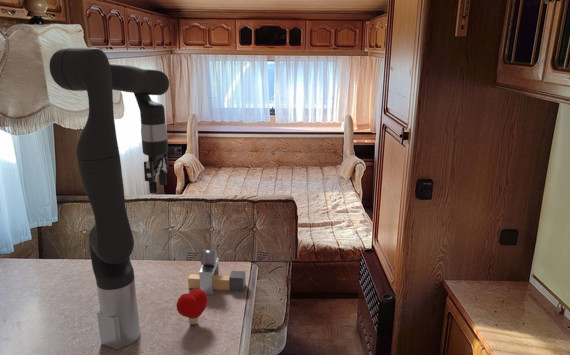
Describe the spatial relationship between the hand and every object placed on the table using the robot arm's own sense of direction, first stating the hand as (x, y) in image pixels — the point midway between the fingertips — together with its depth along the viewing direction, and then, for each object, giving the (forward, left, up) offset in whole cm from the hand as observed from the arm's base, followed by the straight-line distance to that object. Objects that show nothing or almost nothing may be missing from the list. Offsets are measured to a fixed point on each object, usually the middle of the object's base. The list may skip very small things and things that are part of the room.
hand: (158, 188), depth 134 cm
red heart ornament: (-15, -22, -33) cm, 43 cm away
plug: (+5, -17, -33) cm, 38 cm away
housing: (+4, -15, -33) cm, 37 cm away
